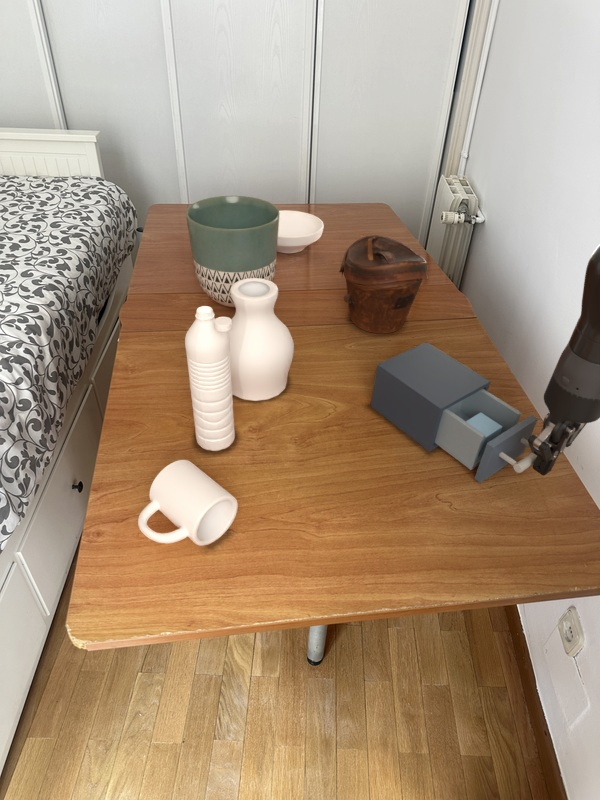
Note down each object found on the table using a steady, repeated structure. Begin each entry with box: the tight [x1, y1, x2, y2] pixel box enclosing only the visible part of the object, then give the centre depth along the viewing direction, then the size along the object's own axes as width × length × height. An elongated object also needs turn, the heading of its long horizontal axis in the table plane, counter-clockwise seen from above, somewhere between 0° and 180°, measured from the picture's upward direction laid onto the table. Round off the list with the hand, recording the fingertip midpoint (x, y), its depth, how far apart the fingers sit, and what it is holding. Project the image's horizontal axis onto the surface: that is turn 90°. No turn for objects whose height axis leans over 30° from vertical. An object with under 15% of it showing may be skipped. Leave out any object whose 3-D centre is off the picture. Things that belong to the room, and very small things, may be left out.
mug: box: [137, 459, 239, 547], centre depth 74 cm, size 12×10×8 cm
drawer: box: [435, 389, 539, 484], centre depth 88 cm, size 18×11×8 cm, turn 37°
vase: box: [225, 278, 295, 402], centre depth 98 cm, size 14×14×20 cm
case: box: [338, 234, 429, 334], centre depth 118 cm, size 18×20×18 cm
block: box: [466, 412, 503, 457], centre depth 88 cm, size 4×4×4 cm
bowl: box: [277, 209, 325, 254], centre depth 151 cm, size 20×20×7 cm
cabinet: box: [370, 341, 492, 453], centre depth 95 cm, size 15×13×10 cm
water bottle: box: [184, 305, 236, 452], centre depth 83 cm, size 9×6×25 cm
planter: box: [185, 195, 280, 308], centre depth 121 cm, size 20×20×21 cm
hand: (540, 470), depth 81 cm, fingers closed
